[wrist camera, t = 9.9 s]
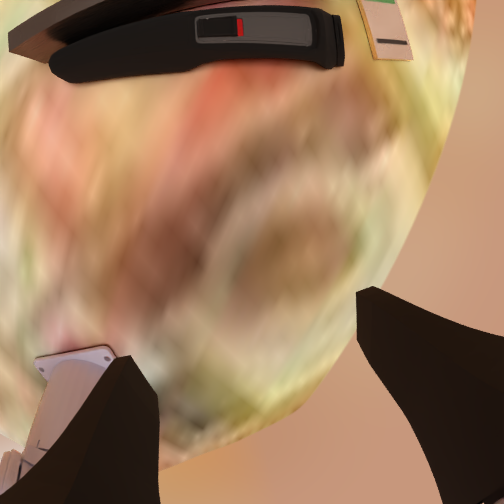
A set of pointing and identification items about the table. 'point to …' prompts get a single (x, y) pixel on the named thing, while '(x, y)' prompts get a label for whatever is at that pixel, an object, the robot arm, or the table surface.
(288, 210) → the table surface
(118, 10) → the gauge plunger
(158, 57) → the electric trimmer
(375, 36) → the gauge frame
